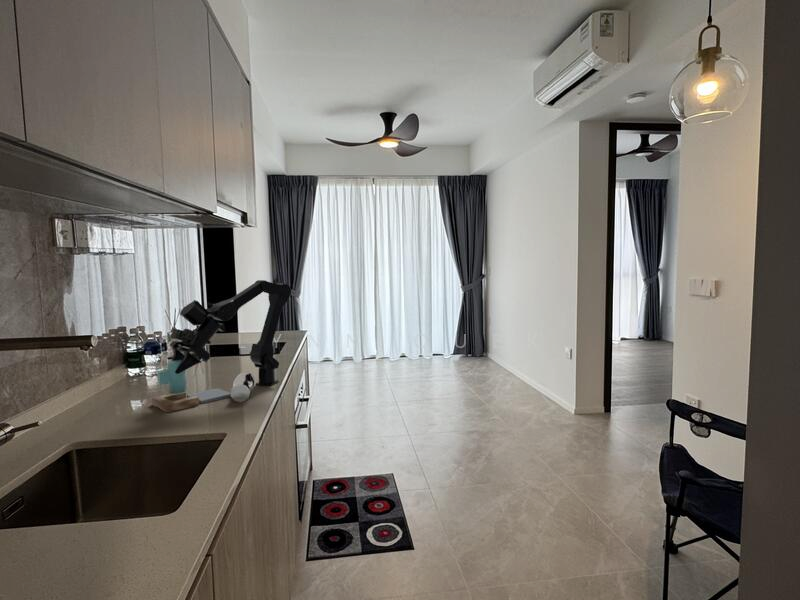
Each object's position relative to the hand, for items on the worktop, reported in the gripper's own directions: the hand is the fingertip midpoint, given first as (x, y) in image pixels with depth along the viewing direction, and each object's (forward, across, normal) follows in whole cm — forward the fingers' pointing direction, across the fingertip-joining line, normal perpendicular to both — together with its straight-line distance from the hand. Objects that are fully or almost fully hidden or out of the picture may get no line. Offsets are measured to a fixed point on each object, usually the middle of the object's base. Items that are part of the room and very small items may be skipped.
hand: (172, 371), depth 151 cm
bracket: (+7, 0, +9) cm, 11 cm away
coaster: (0, 0, +16) cm, 16 cm away
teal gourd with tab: (+5, 0, +5) cm, 7 cm away
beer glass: (-5, +14, +17) cm, 23 cm away
